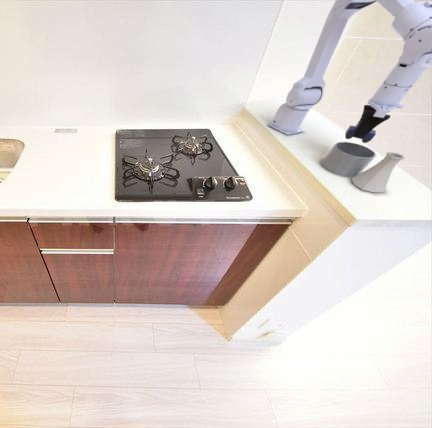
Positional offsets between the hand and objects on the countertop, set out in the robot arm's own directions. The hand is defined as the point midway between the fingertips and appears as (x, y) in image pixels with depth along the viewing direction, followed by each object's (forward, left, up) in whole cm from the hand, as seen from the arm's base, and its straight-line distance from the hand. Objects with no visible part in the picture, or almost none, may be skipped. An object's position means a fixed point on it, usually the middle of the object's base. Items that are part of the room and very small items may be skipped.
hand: (358, 134), depth 69 cm
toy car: (0, 0, -1) cm, 1 cm away
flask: (+12, -5, -10) cm, 16 cm away
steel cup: (+3, -3, -10) cm, 10 cm away
